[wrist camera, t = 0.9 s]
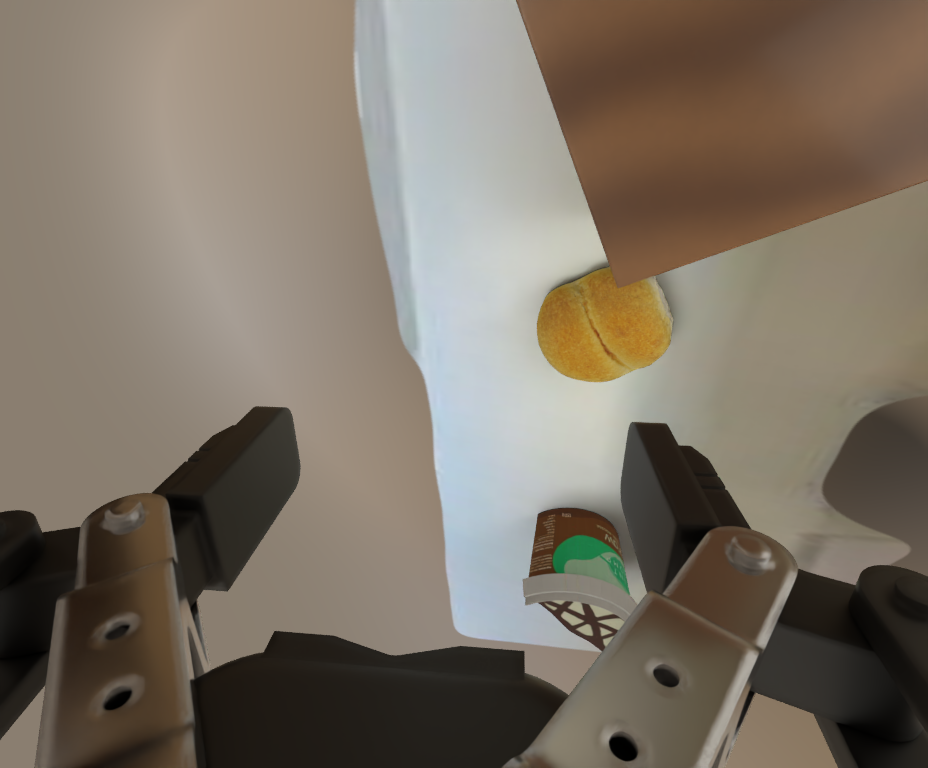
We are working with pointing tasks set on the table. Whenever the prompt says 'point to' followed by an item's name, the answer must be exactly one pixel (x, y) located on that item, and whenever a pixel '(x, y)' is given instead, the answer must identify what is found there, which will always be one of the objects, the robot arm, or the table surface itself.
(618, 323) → the bread roll
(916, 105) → the cabinet
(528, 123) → the table surface
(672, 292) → the table surface
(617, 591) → the food container
